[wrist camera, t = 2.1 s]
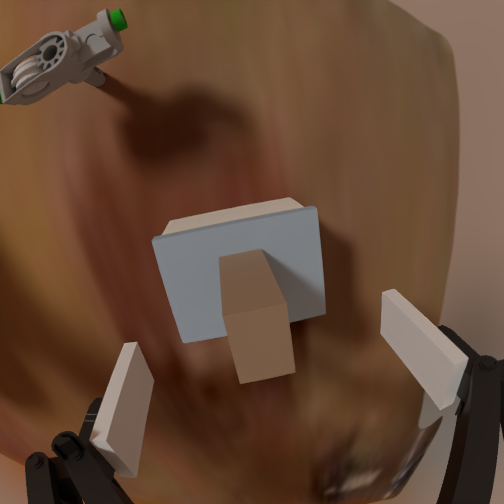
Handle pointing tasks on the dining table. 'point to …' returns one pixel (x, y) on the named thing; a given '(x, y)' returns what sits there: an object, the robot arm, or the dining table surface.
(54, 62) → the mechanical component
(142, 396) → the robot arm
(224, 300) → the lid
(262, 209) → the box
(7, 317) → the dining table surface
